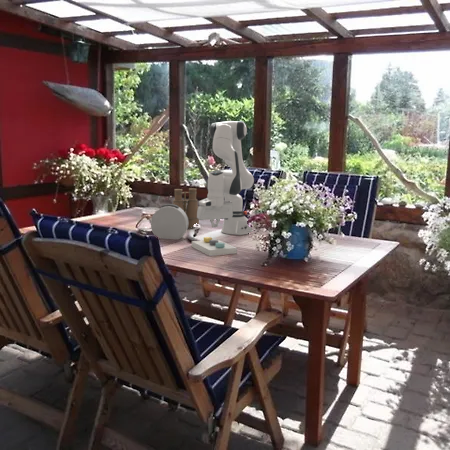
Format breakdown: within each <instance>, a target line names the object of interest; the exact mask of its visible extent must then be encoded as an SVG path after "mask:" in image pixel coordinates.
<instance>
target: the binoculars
mask: <svg viewBox="0 0 450 450" xmlns="http://www.w3.org/2000/svg"><path fill="white" fill-rule="evenodd" d="M173 190H174V193H173V194H174V199H173V200H172V204H174V205H177V206H179V207H180V208H181V209H182V210H183V211H184V212H185V213H186V215H187V217H188V222H189V224H188V229H192V228H191V227H193V225H194V224H196V223H197V224H199V225H200V220H199V219H198V218H197V210H198V207H199V200H198V198H197V193H198V192H197V190H198V189H197V188H192V187H191V188H188V191H183V189H182V188H181V189H180V188H174V189H173ZM183 194H184V195H183ZM186 194H188V199H186V196H187V195H186ZM183 197H184V198H183Z"/></svg>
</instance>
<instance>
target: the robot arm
mask: <svg viewBox="0 0 450 450" xmlns="http://www.w3.org/2000/svg"><path fill="white" fill-rule="evenodd" d="M246 125H247V124H246V123H245V122H244V121H240V120H239V121H238V120H237V121H234V120H227V121H220V122H213V123H211V124H210V125H209V131H208V132H209V137H210V139H212V151H213V153H214V154H215V156H217V157H218V158H220V159H221V160H223V161H224V163H225V164H226V165H227V166H228V167H229V168H230V169H221V170H211V171H210V172H209V173H208V178H207V180H206V190H207V192H208V193H207V197H206V198H203V199H201V200H198V210H197V218H198V219H199V221H209V222H210V223H211V228H218V227H219V223H220V221H221V220H223V223H222V228H221V231H220V232H221V233H223V234H226V235H236V236H243V235H244V236H245V235H249V234H248V233H250V232H252V231H253V229H254V228H253V229H252V228H251V227H249V226H248V224H247V221H248V220H249V218H247V217H246V216H247V215H248V214H247V212H248V210H247V211H246V210H245V211H244V209H243V197H242V195H240V193H241V192H242V190H249V189H251V188H252V187H253V186H254V183H255V182H254V181H255V178H254V175H253V174H252V172H250V171H249V169H248V168H247V167H246V164H245V163H244V160H243V158H244V157H243V151H242V140H243V139H244V138H246V135H247V133H248V132H247V131H248V129H247V126H246ZM245 215H246V216H245ZM215 221H216V222H215ZM214 222H215V223H214Z"/></svg>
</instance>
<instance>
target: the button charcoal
mask: <svg viewBox="0 0 450 450" xmlns="http://www.w3.org/2000/svg"><path fill="white" fill-rule="evenodd" d="M218 240H219V239H218ZM218 240H213V239H212V240H209V244H211V245H216V243H218Z"/></svg>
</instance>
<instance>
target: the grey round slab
mask: <svg viewBox="0 0 450 450" xmlns="http://www.w3.org/2000/svg"><path fill="white" fill-rule="evenodd" d="M188 224H189V222H188V217H187V215H186V211H185V212H184V211H183V210H182V209H181V208H180V207H179V206H177V205H174V204H173V203H166V204H162V205H161V207H160V208H158V209H157V210H156V211H155V212H154V213H153V214H152V216H151V219H150V229H151V231H152V234H153V235H154V236H155V235H156V236H158V237H159V238H158V239H166V240H167V239H168V240H170V239H171V240H181V239H182V237H184V236H185V234H186V233H187V231H188V230H189V228H188ZM156 236H155V237H156Z"/></svg>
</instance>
